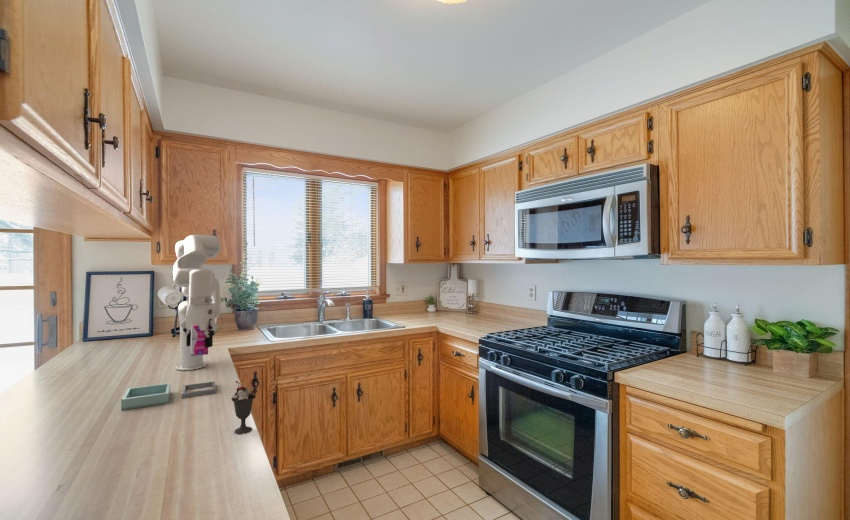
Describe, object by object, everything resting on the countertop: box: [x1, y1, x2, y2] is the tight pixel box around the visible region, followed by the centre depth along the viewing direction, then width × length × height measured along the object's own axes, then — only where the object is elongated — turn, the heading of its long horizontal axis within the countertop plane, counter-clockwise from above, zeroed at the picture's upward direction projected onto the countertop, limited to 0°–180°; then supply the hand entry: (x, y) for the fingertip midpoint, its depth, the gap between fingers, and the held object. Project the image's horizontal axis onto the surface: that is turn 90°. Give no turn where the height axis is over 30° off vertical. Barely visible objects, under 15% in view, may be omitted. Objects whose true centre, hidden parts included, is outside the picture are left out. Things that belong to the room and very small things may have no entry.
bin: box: [120, 382, 172, 411], centre depth 139 cm, size 13×13×4 cm
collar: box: [181, 381, 217, 399], centre depth 150 cm, size 11×11×2 cm
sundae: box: [230, 380, 256, 435], centre depth 116 cm, size 7×7×15 cm
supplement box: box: [190, 325, 209, 356], centre depth 150 cm, size 6×6×12 cm
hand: (199, 346), depth 150 cm, fingers closed on supplement box, 8 cm apart
